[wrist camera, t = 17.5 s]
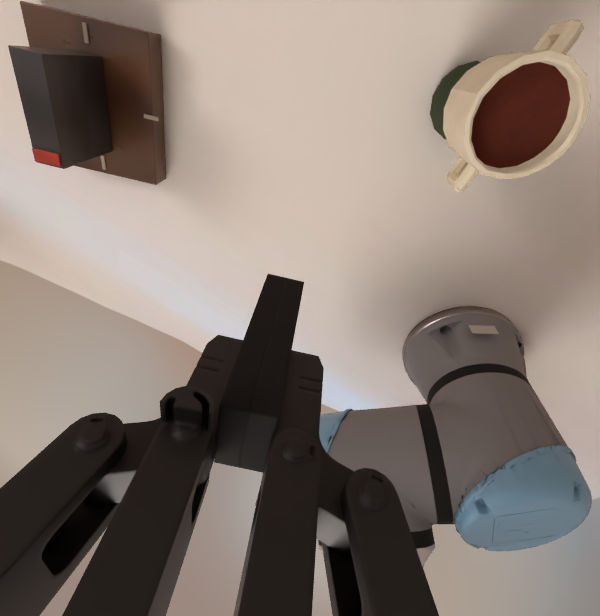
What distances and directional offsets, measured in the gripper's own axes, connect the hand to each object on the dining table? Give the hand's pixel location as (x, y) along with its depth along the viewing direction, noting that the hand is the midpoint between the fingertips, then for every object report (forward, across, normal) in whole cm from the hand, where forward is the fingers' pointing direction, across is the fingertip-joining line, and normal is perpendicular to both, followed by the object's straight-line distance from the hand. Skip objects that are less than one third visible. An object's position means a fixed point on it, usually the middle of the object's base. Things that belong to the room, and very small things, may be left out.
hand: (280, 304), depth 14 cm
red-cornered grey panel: (+24, -22, +1) cm, 32 cm away
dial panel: (+26, -22, +1) cm, 34 cm away
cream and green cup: (+27, +12, +8) cm, 30 cm away
